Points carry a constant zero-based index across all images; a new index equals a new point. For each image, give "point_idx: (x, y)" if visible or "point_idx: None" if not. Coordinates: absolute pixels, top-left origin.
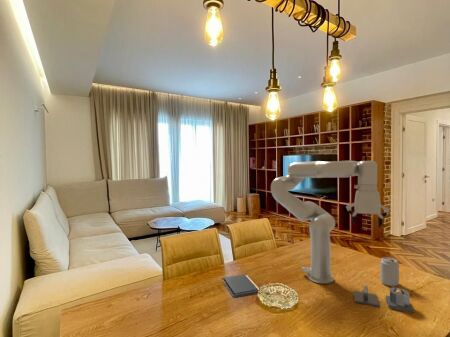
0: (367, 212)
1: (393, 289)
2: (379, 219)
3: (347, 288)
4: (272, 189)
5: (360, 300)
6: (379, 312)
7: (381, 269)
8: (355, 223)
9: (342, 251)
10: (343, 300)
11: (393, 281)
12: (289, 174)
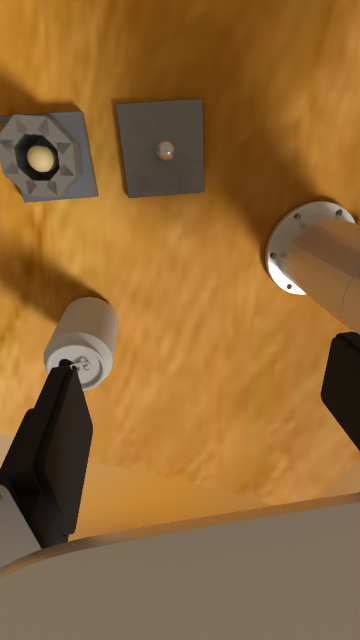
0: (311, 542)
1: (60, 170)
2: (34, 456)
3: (222, 212)
4: None
5: (181, 112)
6: (114, 57)
7: (111, 332)
8: (357, 342)
9: (226, 468)
10: (240, 97)
11: (74, 305)
12: None
